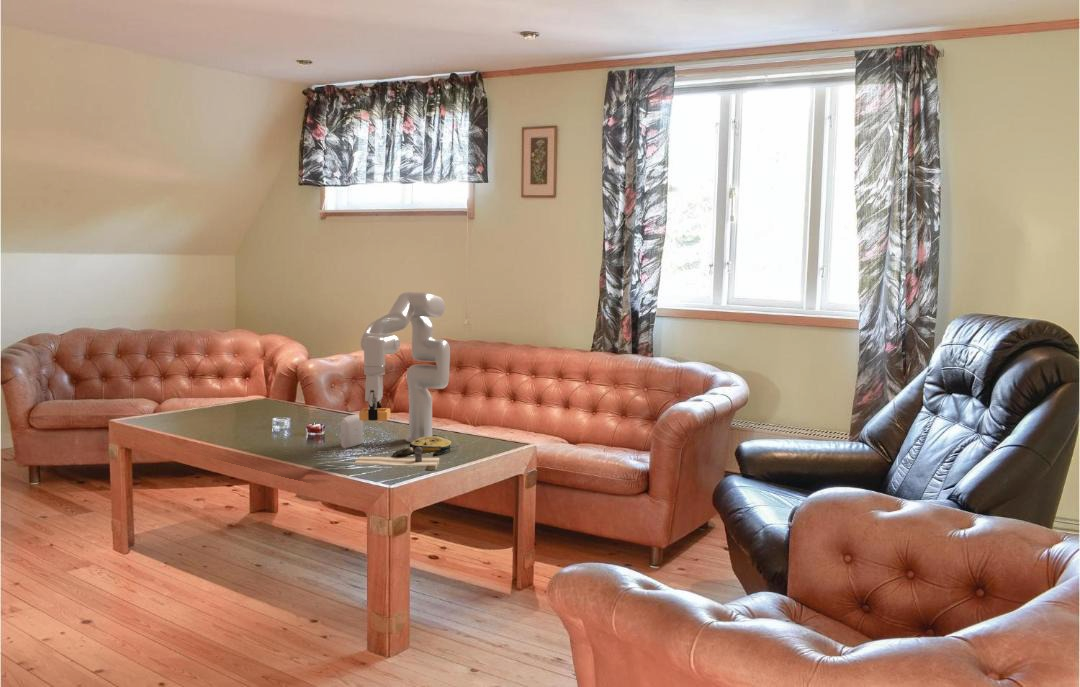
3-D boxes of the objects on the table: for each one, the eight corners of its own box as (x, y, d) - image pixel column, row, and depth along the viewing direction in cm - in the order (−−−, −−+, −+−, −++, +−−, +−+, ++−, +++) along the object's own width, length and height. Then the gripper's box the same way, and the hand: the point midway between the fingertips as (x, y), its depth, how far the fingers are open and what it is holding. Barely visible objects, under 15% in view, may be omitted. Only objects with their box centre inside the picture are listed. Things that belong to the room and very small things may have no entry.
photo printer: (347, 448, 349) (347, 418, 348) (339, 447, 351) (339, 416, 350) (364, 443, 358) (364, 413, 357) (356, 442, 360) (356, 412, 359)
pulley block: (382, 440, 334) (437, 429, 358) (380, 455, 335) (436, 442, 359) (407, 452, 326) (463, 439, 349) (406, 466, 327) (461, 453, 351)
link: (363, 416, 327) (363, 407, 326) (390, 416, 327) (390, 408, 326) (359, 420, 320) (359, 411, 319) (386, 420, 319) (386, 412, 319)
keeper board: (359, 460, 331) (359, 442, 330) (439, 461, 331) (439, 443, 330) (352, 468, 319) (352, 449, 318) (435, 469, 319) (435, 450, 318)
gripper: (369, 366, 330) (369, 413, 332) (359, 373, 312) (359, 422, 314) (389, 366, 330) (389, 413, 332) (380, 373, 312) (380, 423, 314)
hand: (375, 417), depth 323 cm, fingers closed on link, 7 cm apart
